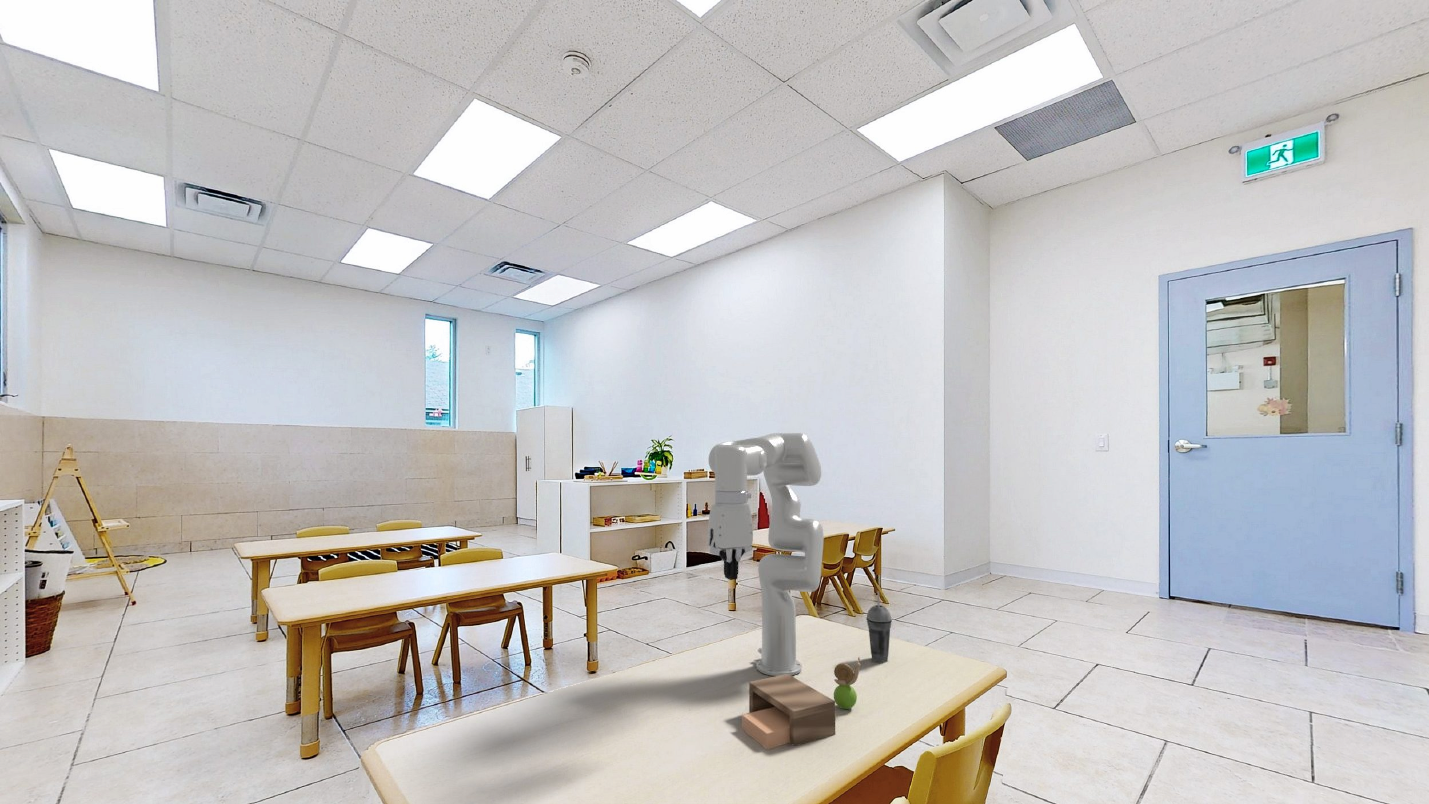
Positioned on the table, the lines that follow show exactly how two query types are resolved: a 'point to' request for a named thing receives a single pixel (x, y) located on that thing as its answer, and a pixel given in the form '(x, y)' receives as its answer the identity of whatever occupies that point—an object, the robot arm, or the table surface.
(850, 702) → the snail figurine
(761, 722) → the peach tile
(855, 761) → the table surface
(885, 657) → the beverage cup
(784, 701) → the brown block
